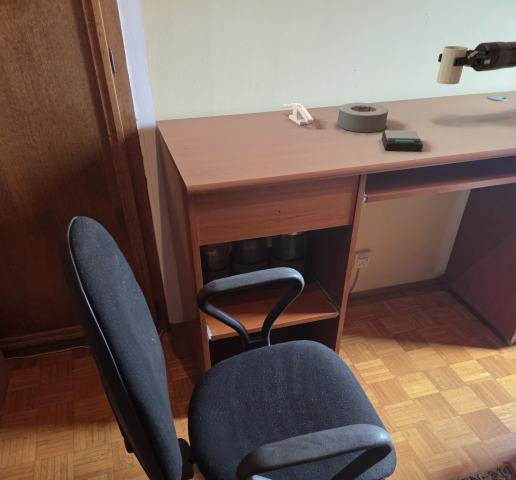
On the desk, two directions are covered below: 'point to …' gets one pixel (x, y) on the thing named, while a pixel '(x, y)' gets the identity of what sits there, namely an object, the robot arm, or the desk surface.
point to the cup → (451, 65)
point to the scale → (401, 141)
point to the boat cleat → (299, 114)
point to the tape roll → (362, 117)
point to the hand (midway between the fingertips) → (446, 60)
